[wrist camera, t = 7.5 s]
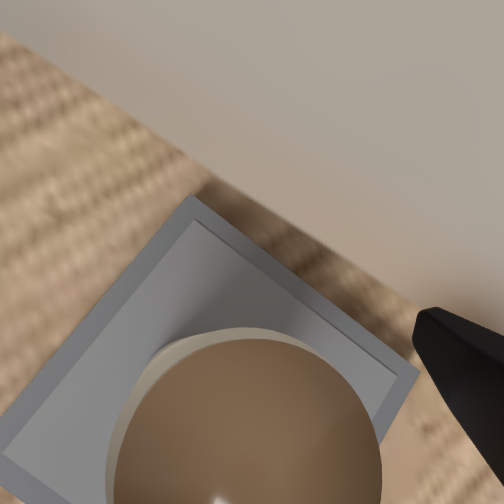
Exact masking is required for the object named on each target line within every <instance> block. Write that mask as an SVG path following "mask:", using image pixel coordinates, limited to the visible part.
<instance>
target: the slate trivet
mask: <svg viewBox="0 0 504 504" xmlns="http://www.w3.org/2000/svg"><path fill="white" fill-rule="evenodd" d="M239 327H246V328H261V329H267V330H273V331H276V332H279V333H283V334H286V335H289V336H291V337H293V338H295V339H297V340H299V341H302V342H303V343H305V344H307V345H308V346H310V347H311V348H313V349H314V350H316V351H317V352H318V353H320V354H321V355H322V356H323V357H324V358H326V359H327V360H328V361H329V362H330V363H331V364H332V365H333V366H334V368H335V369H336V370H337V371H338V372H339V373H340V374H341V375H342V376H343V377H344V379H345V380H346V381H347V382H348V383H349V384H350V385H351V387H352V388H353V389H354V391H355V392H356V394H357V395H358V396H359V398H360V400H361V401H362V403H363V405H364V407H365V409H366V411H367V412H368V415H369V417H370V420H371V422H372V425H373V427H374V430H375V434H376V437H377V441H378V445H380V443H381V442H382V440H383V438H384V436H385V434H386V433H387V431H388V429H389V427H390V425H391V424H392V422H393V420H394V418H395V417H396V415H397V413H398V411H399V409H400V408H401V406H402V404H403V402H404V400H405V399H406V397H407V395H408V393H409V392H410V390H411V388H412V386H413V384H414V383H415V381H416V379H417V377H418V375H419V374H420V372H421V371H419V370H418V369H417V368H415V367H414V366H413V365H412V364H410V363H409V362H408V361H406V360H405V359H404V358H403V357H401V356H400V355H399V354H397V353H396V352H395V351H394V350H392V349H391V348H390V347H388V346H387V345H386V344H385V343H383V342H382V341H381V340H379V339H378V338H377V337H375V336H374V335H373V334H372V333H370V332H369V331H368V330H366V329H365V328H364V327H363V326H361V325H360V324H359V323H357V322H356V321H355V320H354V319H352V318H351V317H350V316H348V315H347V314H346V313H345V312H343V311H342V310H341V309H339V308H338V307H337V306H335V305H334V304H333V303H332V302H330V301H329V300H328V299H326V298H325V297H324V296H323V295H321V294H320V293H319V292H317V291H316V290H315V289H314V288H312V287H311V286H310V285H308V284H307V283H306V282H305V281H303V280H302V279H301V278H299V277H298V276H297V275H296V274H294V273H293V272H292V271H290V270H289V269H288V268H286V267H285V266H284V265H283V264H281V263H280V262H279V261H277V260H276V259H275V258H274V257H272V256H271V255H270V254H268V253H267V252H266V251H265V250H263V249H262V248H261V247H259V246H258V245H257V244H256V243H254V242H253V241H252V240H250V239H249V238H248V237H246V236H245V235H244V234H243V233H241V232H240V231H239V230H237V229H236V228H235V227H234V226H232V225H231V224H230V223H228V222H227V221H226V220H225V219H223V218H222V217H221V216H219V215H218V214H217V213H216V212H214V211H213V210H212V209H210V208H209V207H208V206H206V205H205V204H204V203H203V202H201V201H200V200H199V199H197V198H196V197H195V196H194V195H192V194H191V193H190V194H189V195H188V196H187V198H186V199H185V200H184V201H183V202H182V203H181V205H180V206H179V207H178V208H177V209H176V211H175V212H174V213H173V214H172V215H171V217H170V218H169V219H168V220H167V221H166V222H165V224H164V225H163V226H162V227H161V228H160V230H159V231H158V232H157V233H156V234H155V235H154V237H153V238H152V239H151V240H150V241H149V243H148V244H147V245H146V246H145V247H144V249H143V250H142V251H141V252H140V253H139V254H138V256H137V257H136V258H135V259H134V260H133V262H132V263H131V264H130V265H129V266H128V267H127V269H126V270H125V271H124V272H123V273H122V275H121V276H120V277H119V278H118V279H117V281H116V282H115V283H114V284H113V285H112V286H111V288H110V289H109V290H108V291H107V292H106V294H105V295H104V296H103V297H102V298H101V299H100V301H99V302H98V303H97V304H96V305H95V307H94V308H93V309H92V310H91V311H90V312H89V314H88V315H87V316H86V317H85V318H84V320H83V321H82V322H81V323H80V324H79V326H78V327H77V328H76V329H75V330H74V331H73V333H72V334H71V335H70V336H69V337H68V339H67V340H66V341H65V342H64V343H63V344H62V346H61V347H60V348H59V349H58V350H57V352H56V353H55V354H54V355H53V356H52V358H51V359H50V360H49V361H48V362H47V363H46V365H45V366H44V367H43V368H42V369H41V371H40V372H39V373H38V374H37V375H36V376H35V378H34V379H33V380H32V381H31V382H30V384H29V385H28V386H27V387H26V388H25V389H24V391H23V392H22V393H21V394H20V395H19V397H18V398H17V399H16V400H15V401H14V403H13V404H12V405H11V406H10V407H9V408H8V410H7V411H6V412H5V413H4V414H3V416H2V417H1V418H0V486H2V487H3V488H4V489H6V490H7V491H8V492H10V493H11V494H13V495H14V496H15V497H17V498H18V499H20V500H21V501H22V502H24V503H25V504H107V502H106V492H105V470H106V458H107V453H108V448H109V443H110V438H111V435H112V432H113V429H114V427H115V424H116V421H117V418H118V416H119V414H120V412H121V410H122V408H123V406H124V404H125V402H126V400H127V398H128V396H129V394H130V393H131V391H132V389H133V387H134V386H135V384H136V382H137V380H138V378H139V377H140V375H141V373H142V371H143V369H144V368H145V366H146V365H147V363H148V362H149V360H150V359H151V358H152V357H153V356H154V355H155V354H156V353H157V352H158V351H159V350H160V349H162V348H163V347H164V346H166V345H167V344H169V343H171V342H173V341H175V340H178V339H181V338H185V337H189V336H194V335H198V334H203V333H208V332H213V331H217V330H222V329H229V328H239Z"/></svg>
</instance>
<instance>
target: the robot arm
mask: <svg viewBox="0 0 504 504" xmlns="http://www.w3.org/2000/svg"><path fill="white" fill-rule="evenodd" d="M412 341H413V345H414V348H415V350H416V352H417V353H418V355H419V357H420V359H421V360H422V362H423V364H424V366H425V368H426V369H427V371H428V373H429V375H430V376H431V378H432V380H433V382H434V384H435V385H436V387H437V389H438V391H439V392H440V394H441V396H442V398H443V399H444V401H445V403H446V404H447V406H448V407H449V409H450V410H451V412H452V413H453V415H454V416H455V418H456V419H457V421H458V422H459V424H460V425H461V426H462V428H463V429H464V431H465V432H466V434H467V435H468V436H469V438H470V439H471V441H472V442H473V444H474V445H475V446H476V448H477V449H478V451H479V452H480V454H481V455H482V456H483V458H484V459H485V461H486V462H487V464H488V465H489V466H490V468H491V469H492V471H493V472H494V474H495V475H496V476H497V478H498V479H499V481H500V482H501V483H502V485H503V486H504V336H503V335H500V334H498V333H496V332H494V331H491V330H489V329H487V328H485V327H482V326H480V325H478V324H476V323H473V322H471V321H469V320H466V319H464V318H462V317H460V316H457V315H455V314H453V313H450V312H448V311H446V310H443V309H441V308H439V307H432V308H428V309H424V310H421V311H420V312H419V313H418V315H417V319H416V323H415V327H414V331H413V335H412Z"/></svg>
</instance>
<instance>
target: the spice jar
mask: <svg viewBox="0 0 504 504" xmlns="http://www.w3.org/2000/svg"><path fill="white" fill-rule="evenodd" d="M381 491H382V464H381V457H380V451H379V445H378V441H377V437H376V434H375V430H374V427H373V425H372V422H371V420H370V417H369V415H368V412H367V411H366V409H365V407H364V405H363V403H362V401H361V400H360V398H359V396H358V395H357V394H356V392H355V391H354V389H353V388H352V387H351V385H350V384H349V383H348V382H347V381H346V380H345V379H344V377H343V376H342V375H341V374H340V373H339V372H338V371H337V370H336V369H335V368H334V366H333V365H332V364H331V363H330V362H329V361H328V360H327V359H326V358H324V357H323V356H322V355H321V354H320V353H318V352H317V351H316V350H314V349H313V348H311V347H310V346H308V345H307V344H305V343H303V342H302V341H299V340H297V339H295V338H293V337H291V336H289V335H286V334H283V333H279V332H276V331H273V330H267V329H261V328H246V327H239V328H229V329H222V330H217V331H213V332H208V333H203V334H198V335H194V336H189V337H185V338H181V339H178V340H175V341H173V342H171V343H169V344H167V345H166V346H164V347H163V348H162V349H160V350H159V351H158V352H157V353H156V354H155V355H154V356H153V357H152V358H151V359H150V360H149V362H148V363H147V365H146V366H145V368H144V369H143V371H142V373H141V375H140V377H139V378H138V380H137V382H136V384H135V386H134V387H133V389H132V391H131V393H130V394H129V396H128V398H127V400H126V402H125V404H124V406H123V408H122V410H121V412H120V414H119V416H118V418H117V421H116V424H115V427H114V429H113V432H112V435H111V438H110V443H109V448H108V453H107V458H106V470H105V492H106V502H107V504H380V502H381Z"/></svg>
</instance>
